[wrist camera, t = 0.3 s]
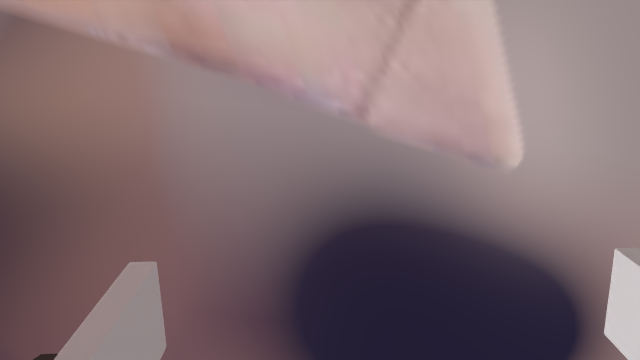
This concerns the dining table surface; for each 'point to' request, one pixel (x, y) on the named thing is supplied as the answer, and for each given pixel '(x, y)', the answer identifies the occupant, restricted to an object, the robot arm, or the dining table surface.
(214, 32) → the dining table surface
